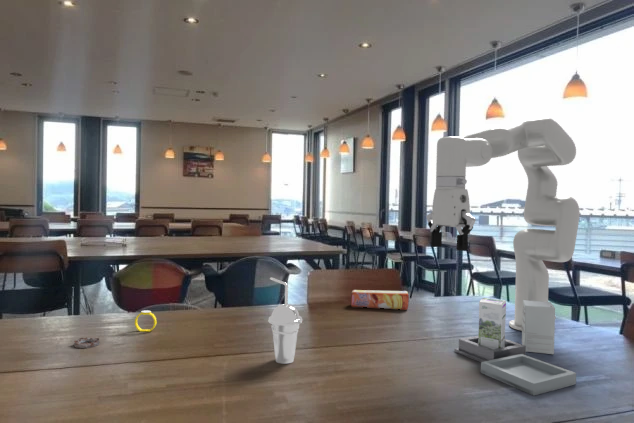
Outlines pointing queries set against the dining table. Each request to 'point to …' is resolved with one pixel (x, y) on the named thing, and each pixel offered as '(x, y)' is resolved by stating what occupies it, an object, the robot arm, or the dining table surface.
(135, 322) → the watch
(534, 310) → the supplement box
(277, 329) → the cup with straw
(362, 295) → the snack package
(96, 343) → the donut
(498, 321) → the syrup box
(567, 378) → the tray
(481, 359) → the socket
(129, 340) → the dining table surface
